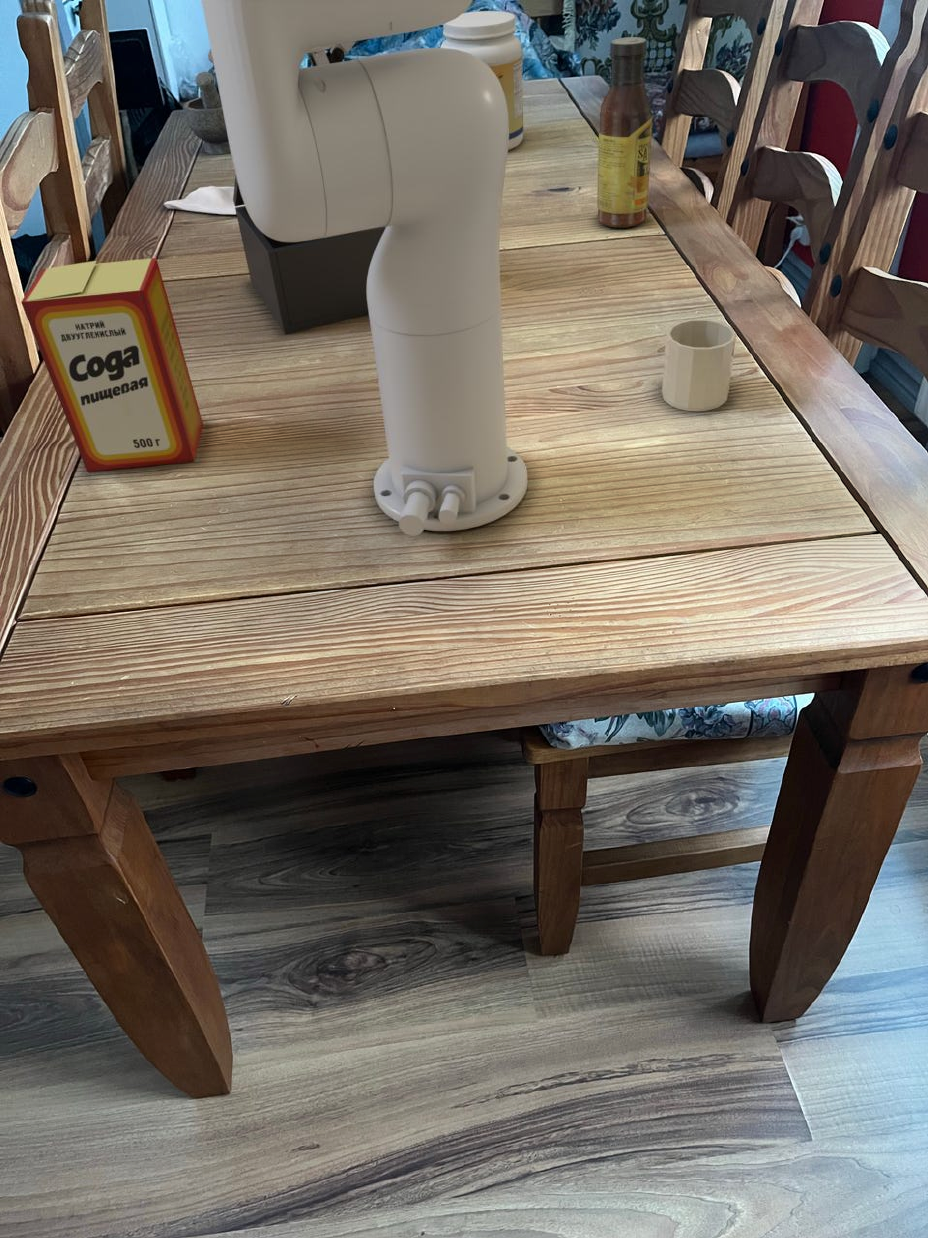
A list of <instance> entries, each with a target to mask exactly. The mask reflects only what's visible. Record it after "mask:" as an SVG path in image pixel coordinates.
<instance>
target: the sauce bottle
mask: <svg viewBox="0 0 928 1238" xmlns="http://www.w3.org/2000/svg"><path fill="white" fill-rule="evenodd" d="M647 42H648V41H647V39H646V38H644V37H639V36H626V37H620V38H615V39H613V40H611V41H610V48H609V49H610V50H609V51H610V52H609V53H610V59H611V71H610V72H611V73H610V80H609V81H610V87H609V89H608V91H607V93H606V95H604V98H603V101H602V103H601V105H600V113H599V120H600V122H599V131H598V151H597V152H598V153H597V155H598V156H597V157H598V159H597V161H598V162H597V193H596V194H597V195H596V196H597V197H596V198H597V201H596V208H597V219H598V222H599V223H600V224H601V225H603V226H606V227H610V228H630V227H635V226H638V225H640V224H642V223H643V222H645V219H646V216H647V209H648V206H649V205H648V204H649V189H650V188H649V186H650V171H651V170H650V169H651V157H652V156H651V155H652V154H651V152H652V136H653V135H652V134H653V116H654V115H653V112H652V108H651V105H650V102H649V97H648V92H647V89H646V85H645V57H646V54H647V49H648V47H647Z"/></svg>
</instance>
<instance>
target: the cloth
mask: <svg viewBox="0 0 928 1238" xmlns="http://www.w3.org/2000/svg"><path fill="white" fill-rule="evenodd" d="M233 195H234V186H214V185H209V186H201V187H198V188H197V189H196V190H194V191H192V192H190V193H188V195H187V196H186V197H184V198H183V199H174V200H167V201H165V202H164V203H163V206H164V207H165V208H166V209H172V210H180V211H187V212H193V213H203V214H205V213H206V214H214V215H215V214H218V215H234V216H235V215H236V210H235V208H236V207H240V206H236V207H235V205H234V202H233ZM241 206H245V205H241ZM236 216H237V215H236Z"/></svg>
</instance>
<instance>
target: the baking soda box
mask: <svg viewBox="0 0 928 1238" xmlns="http://www.w3.org/2000/svg"><path fill="white" fill-rule="evenodd" d="M165 287H166V286H165V284H164V280H163V276H162V273H161V270H160V266H159V262H158V259H157V257H152V258H143V259H131V260H120V261H111V262H100V263H97V260H92V261H86V262H79V263H73V264H67V265H60V266H53V267H48V268H47V267H46V268H42V269H40V272H39V273H38V274H37V276H36V277H35V279H34V281H33V282H32V284H31V286H30V287H29V289H28V290H27V292H26V294H25V295H24V297H23V298H22V299H21V302H20V303H21V306H22V308H23V311H24V314H25V316H26V318H27V319H26V320H27V321H28V323H29V326H30V329H31V331H32V334H33V337H34V339H35V341H36V344H37V346H38V349H39V352H40V354H41V357H42V360H43V362H44V364H45V365H44V366H45V368H46V370H47V372H48V375H49V377H50V380H51V382H52V385H53V387H54V390H55V393H56V395H57V398H58V401H59V403H60V406H61V408H62V411H63V413H64V416H65V418H66V419H65V420H66V421H67V424H68V426H69V429H70V432H71V434H72V437H73V438H74V442H75V444H76V446H77V447H76V448H77V450H78V452H79V455H80V457H81V460H82V463H83V465H84V467H85V471H86V473H90V472H100V471H110V470H121V469H129V468H140V467H148V466H149V467H150V466H161V465H168V464H169V465H170V464H179V463H190V462H195V460H196V455H197V450H198V446H199V442H200V438H201V434H202V430H203V426H204V422H203V421H204V420H203V418H202V414H201V411H200V408H199V404H198V401H197V397H196V393H195V389H194V386H193V383H192V379H191V376H190V373H189V369H188V364H187V361H186V358H185V354H184V350H183V347H182V343H181V340H180V337H179V333H178V330H177V326H176V322H175V319H174V315H173V311H172V309H171V305H170V302H169V298H168V294H167V291H166V288H165Z"/></svg>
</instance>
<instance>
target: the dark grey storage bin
mask: <svg viewBox="0 0 928 1238" xmlns="http://www.w3.org/2000/svg"><path fill="white" fill-rule="evenodd" d="M235 210H236V219H237V224H238V228H239V233H240V238H241V241H242V242H241V243H242V246H243V251H244V256H245V260H246V264H247V269H248V273H249V278H250V282H251V285H252V286H253V288H254V289H255V290H256V293H257V294H258V295H259V297H260V298H261V300H262V302H263V303H264V305H265V306H266V308H267V309H268V311H269V312H270V314H271V315H272V317H273V319H274V320H275V322H276V323H277V325H278V326H279V328H280V330H281V331H282V333H283V334H284V335H287V334H291V333H296V332H300V331H304V330H308V329H312V328H316V327H317V328H318V327H321V326H325V325H330V324H335V323H339V322H343V321H346V320H351V319H354V318H359V317H363V316H368V315H369V311H368V304H367V292H366V288H367V277H368V272H369V267H370V263H371V261H372V258H373V255H374V252H375V250H376V247H377V245H378V243H379V241H380V238H381V237H382V235H383V233H384V230H385V228H386V227H377V228H372V229H367V230H362V231H357V232H352V233H347V234H342V235H337V236H332V237H326V238H319V239H314V240H308V241H301V242H281V241H277V240H274V239H272V238H270V237H268V236H266V235H265V234H263V233H262V232H261V231H260V230H259V229H258V228H257V227H256V225H255V224H254V222H253V221H252V219H251V218H250V216H249V214H248V212H247V209H246V207H245V206H240V207H236V208H235Z"/></svg>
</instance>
